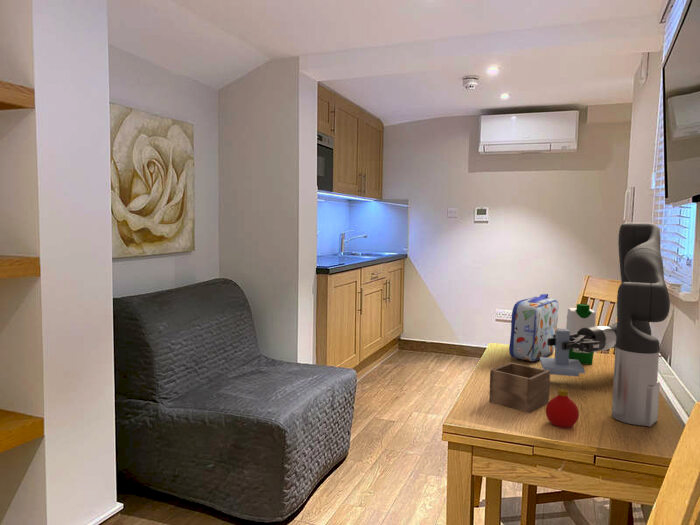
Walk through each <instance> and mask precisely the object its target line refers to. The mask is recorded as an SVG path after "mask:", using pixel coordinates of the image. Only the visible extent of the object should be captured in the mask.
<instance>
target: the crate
mask: <svg viewBox="0 0 700 525" xmlns="http://www.w3.org/2000/svg"><path fill="white" fill-rule="evenodd" d="M489 372H490V373H489V374H490V375H489V392H488V393H489V395H488V396H489V398H488V402H489V403H490V404H491V403H492V404H494V405H495V404H496V405H498V406H502V407H505V408H506V407H507V408H508V409H513V410H517V411H521V412H525V413H527V414H531V413H533V412H535V411H536V410H538V409H540V408H542V407H543V406H546V405H547V404H548V402H549V401H550V385H551V384H550V382H551V381H550V380H551V374H550V371H549V370H544V369H543V368H539V367H533V366H530V365H525V364H520V363H514V362H508V363H505V364H502V365H499V366H498V367H495V368H492V369H490V371H489Z"/></svg>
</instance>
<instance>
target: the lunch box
mask: <svg viewBox="0 0 700 525" xmlns="http://www.w3.org/2000/svg"><path fill="white" fill-rule="evenodd" d="M548 296H549V294H548V293H544V294H543V293H542V294H540V295H539V296H533V297H530V298H524V299H521V300H518V301H516V302H515V304H514V305H513V307H512V311H511V323H510V327H511V328H510V338H509V346H508V349H509V350H508V351H509V356H510V357H511V358H516V359H520V360H523V361H529V362H535V361H538V360H540V357H545V358H548V356H549V355H551V354H553V353H554V352H555V345H554V346H548V345H547V340H548V338H553V335H554V334H556V328H558V319H559V302H558V300H557V299H555V298H550V297H548Z"/></svg>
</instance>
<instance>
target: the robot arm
mask: <svg viewBox="0 0 700 525" xmlns="http://www.w3.org/2000/svg"><path fill="white" fill-rule="evenodd" d="M661 238H662V237H661V231H660V228H659V225H657V224H655V223H654V222H623V223H622V224H621V225H620V226H619V231H618V243H617V244H618V256H619V257H618V258H619V271H620V273H619V274H620V282H621V283H620V284H619V287H618V289H617V295H616V320H617V321H616V322H615V323H613V324H610V325H595V326H594V327H585V328H581V329H580V330H579V331H578V332H577V333H572V334H570V341H568V342H563V343H562V350H569V349H574V350H580V351H584V352H588V353H589V352H594V353H595V352H601V351H608V350H609V349H610V350H611V349H614V350H615V351H614V367H613V368H614V369H613V370H614V371H613V382H612V383H613V384H612V385H613V388H612V403H611V416H612V417H613V419H615V420H616V421H620V422H622V423H626V424H629V425H630V424H631V425H635V426H644V427H645V426H646V427H652V426H653V425H654V424H655V423H656V422H657V421H658V417H659V403H660V387H661V386H660V385H661V384H660V381H658V378H659V376H658V375H659V360H660V359H659V358H660V346H661V344H660V341H659V339H658V338H656V337H655V336H652V329H651V324H650V323H660V322H664V320H666V319H667V317H668V316H669V313H670V308H671V302H670V300H671V299H670V293H669V291H668V286H667V284H666V282H665V275H664V274H665V270H664V261H663V257H662V253H661ZM555 337H556V334H554V335H553V338H548V340H547V345H548V346H554V345H555Z"/></svg>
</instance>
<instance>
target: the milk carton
mask: <svg viewBox="0 0 700 525" xmlns="http://www.w3.org/2000/svg"><path fill="white" fill-rule="evenodd" d="M596 317H597V313H596V311H595V310H594V309H591V307H590V304H587V303H577V304H576V307H568V308H567V313H566V326H565V329H568V330H569V331H570V334H572V333H577V332H578V331H579V330H580V329H581V328H585V327H594V326H596ZM594 353H595V352H589V353H588V352H584V351H580V350H574V349H569V359H575V360H579V362H580V363H581V365H593V359H594Z"/></svg>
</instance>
